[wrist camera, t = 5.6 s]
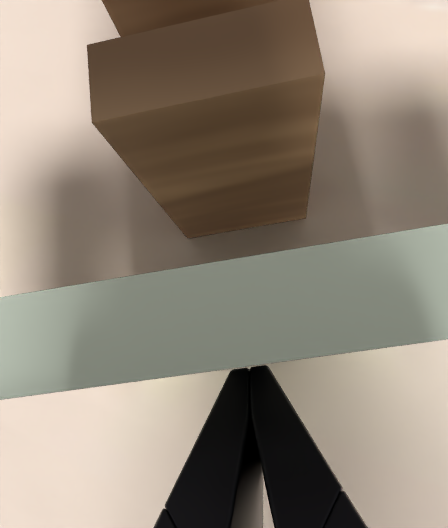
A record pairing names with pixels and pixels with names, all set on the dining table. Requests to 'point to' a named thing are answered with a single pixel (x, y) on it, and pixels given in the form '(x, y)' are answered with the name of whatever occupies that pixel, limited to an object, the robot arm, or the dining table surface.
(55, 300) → the end tile
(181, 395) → the dining table surface
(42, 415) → the dining table surface
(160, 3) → the domino
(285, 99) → the domino
